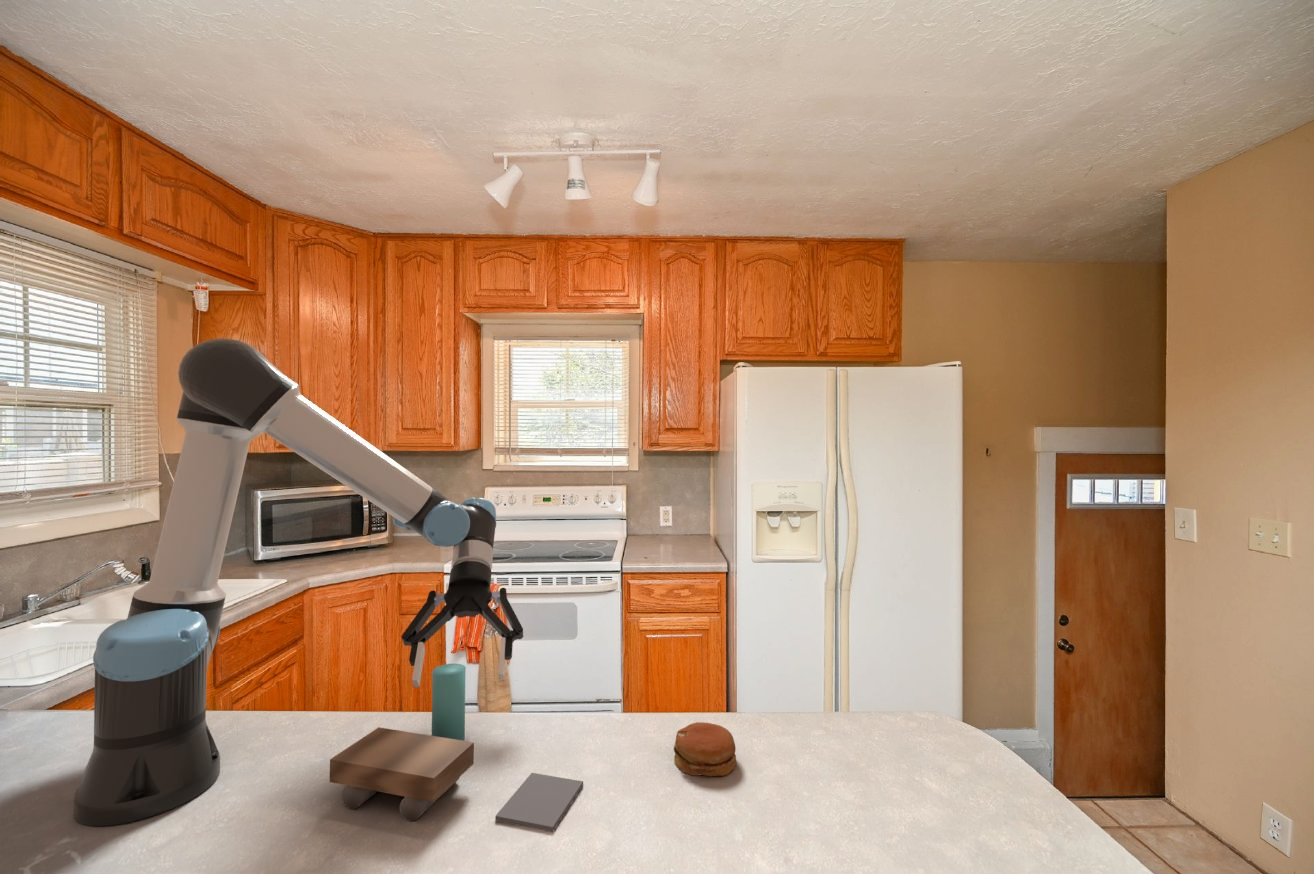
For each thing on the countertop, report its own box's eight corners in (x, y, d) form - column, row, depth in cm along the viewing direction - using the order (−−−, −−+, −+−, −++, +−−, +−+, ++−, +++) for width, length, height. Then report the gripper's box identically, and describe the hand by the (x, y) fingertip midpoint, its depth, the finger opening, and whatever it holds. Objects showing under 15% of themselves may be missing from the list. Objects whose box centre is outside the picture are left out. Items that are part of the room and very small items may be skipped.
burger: (746, 773, 85) (746, 742, 85) (688, 785, 82) (688, 752, 82) (718, 741, 94) (718, 712, 94) (665, 750, 91) (665, 721, 91)
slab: (329, 804, 76) (329, 759, 77) (378, 767, 85) (378, 727, 85) (433, 825, 72) (433, 778, 72) (473, 784, 81) (473, 742, 81)
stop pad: (495, 820, 74) (495, 815, 74) (531, 776, 83) (531, 772, 83) (552, 831, 71) (552, 826, 72) (583, 785, 81) (583, 781, 81)
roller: (424, 750, 90) (425, 673, 90) (444, 734, 95) (445, 662, 95) (452, 755, 89) (453, 677, 89) (470, 739, 94) (471, 665, 94)
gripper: (537, 577, 115) (536, 684, 100) (405, 583, 110) (382, 695, 95) (537, 556, 110) (535, 665, 95) (398, 561, 105) (373, 676, 90)
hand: (459, 681), depth 95 cm, fingers open, 13 cm apart
